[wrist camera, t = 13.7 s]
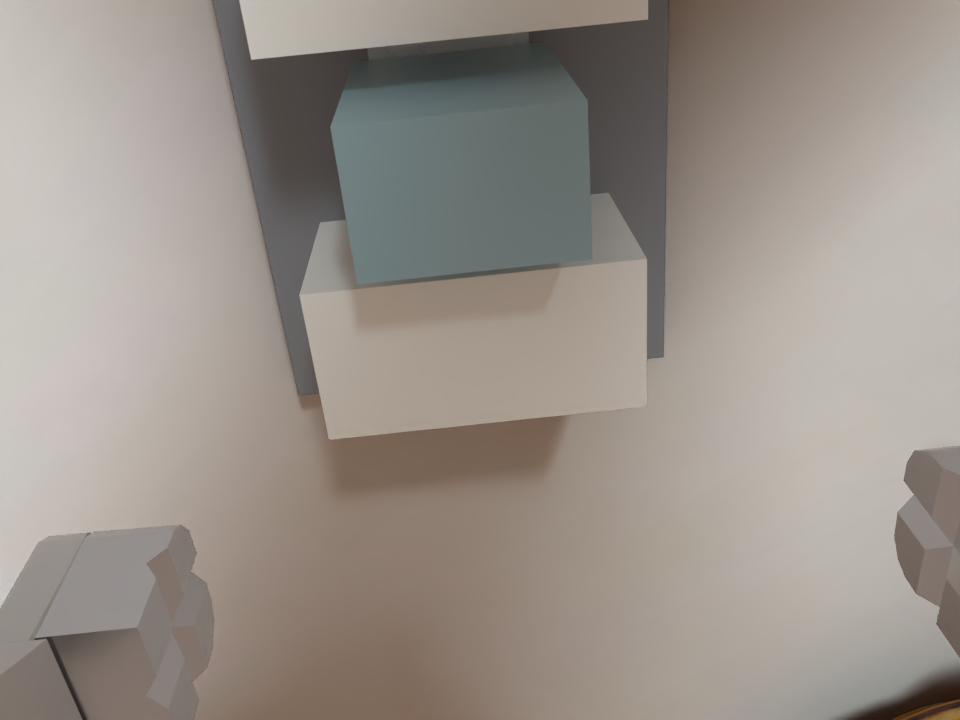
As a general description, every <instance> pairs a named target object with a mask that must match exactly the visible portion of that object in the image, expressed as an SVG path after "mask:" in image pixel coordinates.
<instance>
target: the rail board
mask: <svg viewBox="0 0 960 720" xmlns="http://www.w3.org/2000/svg"><path fill="white" fill-rule="evenodd" d="M213 5H214V9H215V14H216V19H217V23H218V28H219V32H220V37H221V42H222V46H223V51H224V55H225V60H226V65H227V69H228V74H229V78H230V83H231V88H232V92H233V97H234V101H235V106H236V111H237V115H238V120H239V124H240V129H241V134H242V138H243V143H244V147H245V152H246V157H247V161H248V166H249V170H250V175H251V179H252V184H253V189H254V193H255V198H256V202H257V207H258V212H259V216H260V221H261V225H262V230H263V235H264V239H265V244H266V248H267V253H268V258H269V262H270V267H271V271H272V276H273V281H274V285H275V290H276V294H277V299H278V304H279V308H280V313H281V317H282V322H283V327H284V331H285V336H286V340H287V345H288V350H289V354H290V359H291V363H292V368H293V372H294V377H295V382H296V386H297V391H298V395H307V394H317V393H319V394H320V399H321V404H322V409H323V414H324V418H325V423H326V428H327V433H328V438H329V440H334V439H343V438H353V437H362V436H372V435H381V434H390V433H400V432H409V431H419V430H428V429H438V428H447V427H457V426H466V425H476V424H485V423H495V422H504V421H514V420H523V419H533V418H542V417H552V416H561V415H571V414H580V413H590V412H599V411H609V410H618V409H628V408H637V407H647V359H650V358H660V357H664V296H665V227H666V158H667V88H668V19H669V0H213ZM538 42H546V43H547V45H548V46H549V47H550V49H551V50H552V52H553V53H554V54H555V56H556V57H557V58H558V60H559V61H560V63H561V64H562V65H563V67H564V68H565V69H566V71H567V72H568V74H569V75H570V76H571V78H572V79H573V81H574V82H575V83H576V85H577V86H578V87H579V89H580V90H581V92H582V93H583V94H584V96H585V97H586V99H587V100H588V131H589V162H590V194H591V226H592V258H593V259H591V260H581V261H572V262H563V263H553V264H544V265H535V266H525V267H516V268H507V269H497V270H488V271H478V272H469V273H460V274H450V275H441V276H432V277H422V278H413V279H403V280H394V281H385V282H375V283H366V284H357V280H356V274H355V268H354V262H353V257H352V251H351V245H350V239H349V233H348V227H347V222H346V216H345V210H344V204H343V198H342V193H341V187H340V181H339V175H338V169H337V163H336V158H335V152H334V146H333V140H332V134H331V128H330V126H331V124H332V121H333V118H334V115H335V112H336V109H337V106H338V104H339V101H340V98H341V95H342V92H343V89H344V86H345V84H346V81H347V78H348V75H349V72H350V69H351V67H352V64H353V62H357V61H367V60H376V59H386V58H395V57H405V56H414V55H424V54H433V53H443V52H453V51H462V50H472V49H481V48H491V47H500V46H510V45H519V44H529V43H538Z"/></svg>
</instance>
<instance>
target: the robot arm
mask: <svg viewBox="0 0 960 720" xmlns="http://www.w3.org/2000/svg"><path fill="white" fill-rule="evenodd" d="M904 482H905V483H906V485H907V486H908V487H909V489H910V490H911V491H912V493H913V494H914V495H913V496H912V497H911V498H910V500H909V501H908V502H907V503H906V504H905V505H904V506H903V507H902V508H901V509H900V510H899V511H898V513H897V520H896V527H895V535H894V537H895V543H896V550H897V556H898V561H899V563H900V566H901V568H902V570H903V573H904V575H905V578H906V579H907V581H908V582H909V584H910V585H911V587H912V588H913V590H914V591H915V593H916V594H917V595H919V596H921V597H923V598H925V599H926V600H928V601H930V602H932V603H933V604H935V605H937V606H939V607H940V609H939V614H938V618H937V623H936V624H937V625H938V627H939V628H940V630H941V631H942V633H943V634H944V636H945V637H946V639H947V640H948V641H949V643H950V644H951V646H952V647H953V649H954V650H955V652H956V653H957V655H958V656H959V657H960V446H952V447H943V448H933V449H924V450H915V451H914V452H913V453H912V455H911V457H910V458H909V460H908V462H907V465H906V470H905V475H904ZM196 554H197V552H196V549H195V546H194V543H193V540H192V538H191V535H190V532H189V530H188V529H186V528H185V527H183V526H182V525H173V526H160V527H148V528H135V529H123V530H110V531H98V532H93V533H79V534H68V535H57V536H49V537H47V538H45V539H44V540H42V541H40V542H39V543H38V544H37V545H36V547H35V549H34V551H33V552H32V554H31V556H30V558H29V559H28V561H27V563H26V565H25V566H24V568H23V570H22V572H21V573H20V575H19V577H18V578H17V580H16V582H15V584H14V585H13V587H12V589H11V591H10V592H9V594H8V596H7V598H6V599H5V601H4V603H3V605H2V606H1V608H0V720H194V716H195V712H196V709H197V705H198V701H199V700H198V697H197V694H196V691H195V688H194V685H193V681H194V680H195V679H196V678H197V677H198V676H199V675H200V674H201V673H202V672H203V671H204V670H205V669H206V668H207V667H208V663H209V659H210V655H211V651H212V647H213V632H214V616H213V609H212V601H211V597H210V594H209V590H208V587H207V584H206V582H204V581H203V580H202V579H200V578H199V577H198V576H196V575H195V574H194V573H192V572H191V570H192V567H193V564H194V561H195V557H196Z"/></svg>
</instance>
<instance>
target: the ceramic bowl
mask: <svg viewBox="0 0 960 720" xmlns="http://www.w3.org/2000/svg"><path fill="white" fill-rule="evenodd" d="M892 720H960V699H959V700H953V701H947V702H941V703H935V704H932V705H928V706H924V707H921V708H917V709H915V710H912V711H910V712H907V713H905V714H902V715H900V716H898V717H896V718H894V719H892Z"/></svg>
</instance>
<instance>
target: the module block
mask: <svg viewBox="0 0 960 720" xmlns="http://www.w3.org/2000/svg"><path fill="white" fill-rule="evenodd" d="M330 128H331V134H332V140H333V146H334V152H335V158H336V163H337V169H338V175H339V181H340V187H341V193H342V198H343V204H344V210H345V216H346V222H347V227H348V233H349V239H350V245H351V251H352V257H353V262H354V268H355V274H356V280H357V284H366V283H375V282H385V281H394V280H403V279H413V278H422V277H432V276H441V275H450V274H460V273H469V272H478V271H488V270H497V269H507V268H516V267H525V266H535V265H544V264H553V263H563V262H572V261H581V260H591V259H593V258H592V226H591V194H590V162H589V131H588V100H587V99H586V97H585V96H584V94H583V93H582V92H581V90H580V89H579V87H578V86H577V85H576V83H575V82H574V81H573V79H572V78H571V76H570V75H569V74H568V72H567V71H566V69H565V68H564V67H563V65H562V64H561V63H560V61H559V60H558V58H557V57H556V56H555V54H554V53H553V52H552V50H551V49H550V47H549V46H548V45H547V43H546V42H538V43H529V44H519V45H510V46H500V47H491V48H481V49H472V50H462V51H453V52H443V53H433V54H424V55H414V56H405V57H395V58H386V59H376V60H367V61H357V62H353V64H352V67H351V69H350V72H349V75H348V78H347V81H346V84H345V86H344V89H343V92H342V95H341V98H340V101H339V104H338V106H337V109H336V112H335V115H334V118H333V121H332V124H331V126H330Z"/></svg>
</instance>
